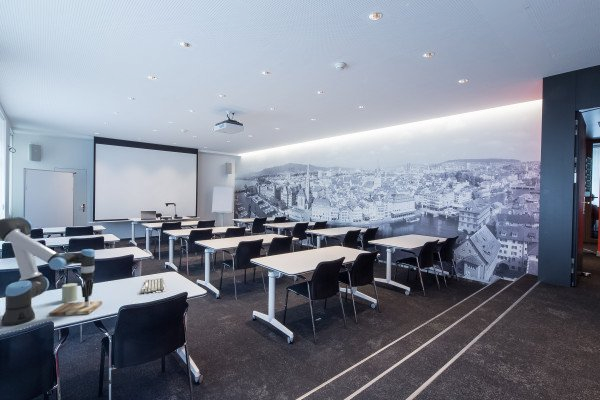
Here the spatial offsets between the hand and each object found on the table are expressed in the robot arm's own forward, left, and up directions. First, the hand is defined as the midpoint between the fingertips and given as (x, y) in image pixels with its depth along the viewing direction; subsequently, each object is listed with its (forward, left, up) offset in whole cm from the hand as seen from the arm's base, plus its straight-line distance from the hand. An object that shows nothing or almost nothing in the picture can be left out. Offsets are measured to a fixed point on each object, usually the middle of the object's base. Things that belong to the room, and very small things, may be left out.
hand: (87, 305), depth 201 cm
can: (-22, +21, -3) cm, 30 cm away
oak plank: (-2, 0, -2) cm, 3 cm away
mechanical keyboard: (+29, +48, -3) cm, 56 cm away
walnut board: (-13, 0, -3) cm, 14 cm away
